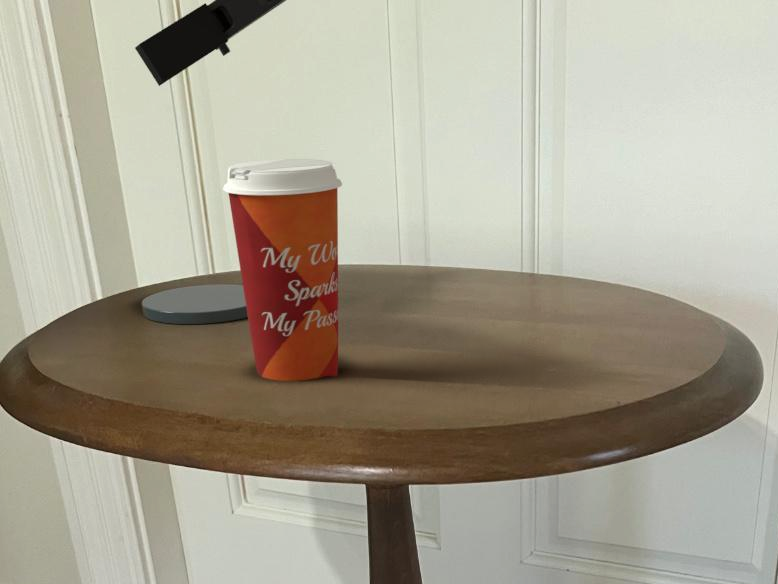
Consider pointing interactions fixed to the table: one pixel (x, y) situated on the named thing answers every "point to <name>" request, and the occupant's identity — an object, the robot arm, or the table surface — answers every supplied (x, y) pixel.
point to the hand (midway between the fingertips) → (196, 27)
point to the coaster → (197, 304)
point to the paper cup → (288, 263)
